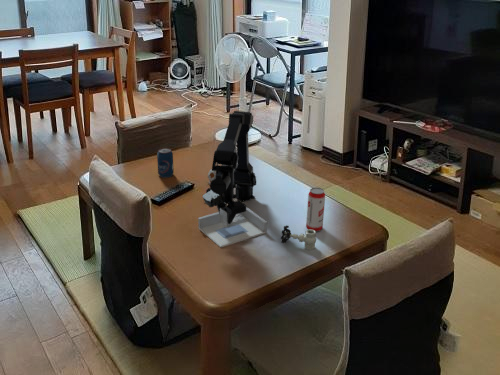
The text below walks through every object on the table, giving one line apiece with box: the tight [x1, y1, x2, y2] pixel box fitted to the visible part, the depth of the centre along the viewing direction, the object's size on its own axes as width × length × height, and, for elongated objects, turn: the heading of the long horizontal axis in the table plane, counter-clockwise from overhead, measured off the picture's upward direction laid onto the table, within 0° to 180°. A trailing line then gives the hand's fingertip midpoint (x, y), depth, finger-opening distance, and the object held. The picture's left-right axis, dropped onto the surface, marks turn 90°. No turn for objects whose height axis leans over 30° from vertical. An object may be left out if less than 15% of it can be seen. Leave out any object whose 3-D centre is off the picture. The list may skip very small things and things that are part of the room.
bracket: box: [220, 206, 246, 228], centre depth 211 cm, size 8×5×6 cm, turn 123°
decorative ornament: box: [207, 163, 219, 185], centre depth 248 cm, size 8×8×15 cm
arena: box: [197, 206, 268, 248], centre depth 214 cm, size 20×16×5 cm
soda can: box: [156, 147, 175, 179], centre depth 256 cm, size 7×7×12 cm
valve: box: [280, 225, 317, 251], centre depth 205 cm, size 7×7×12 cm
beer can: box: [305, 187, 326, 233], centre depth 214 cm, size 6×6×16 cm
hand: (225, 220), depth 210 cm, fingers closed on bracket, 5 cm apart
